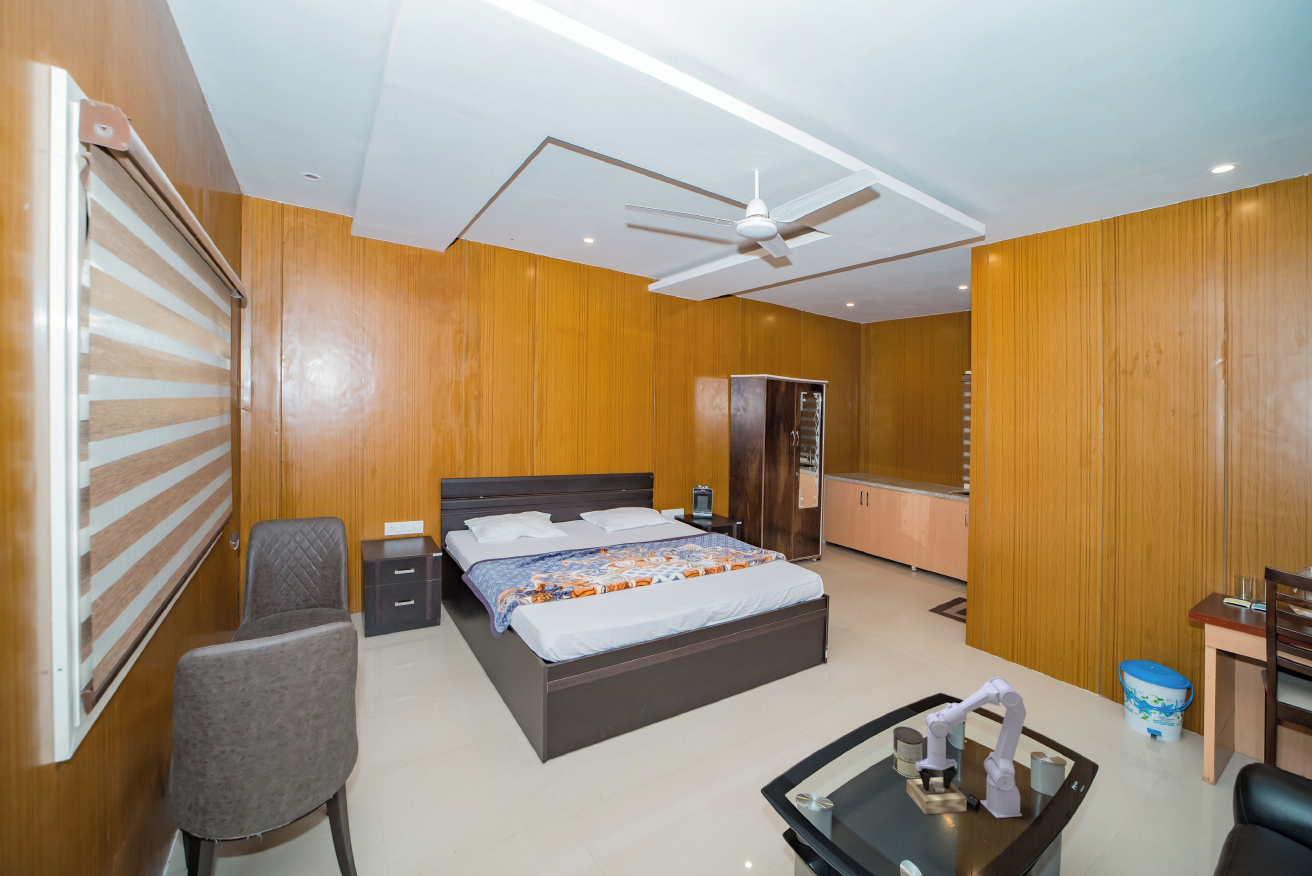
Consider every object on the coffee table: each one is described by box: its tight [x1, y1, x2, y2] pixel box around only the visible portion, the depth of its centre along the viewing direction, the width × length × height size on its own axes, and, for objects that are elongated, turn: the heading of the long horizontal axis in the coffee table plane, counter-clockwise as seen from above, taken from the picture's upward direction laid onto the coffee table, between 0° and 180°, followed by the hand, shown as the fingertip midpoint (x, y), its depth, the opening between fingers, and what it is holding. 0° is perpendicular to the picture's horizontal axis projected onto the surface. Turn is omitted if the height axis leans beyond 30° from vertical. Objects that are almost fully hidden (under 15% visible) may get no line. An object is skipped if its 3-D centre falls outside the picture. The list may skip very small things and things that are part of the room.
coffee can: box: [892, 726, 924, 779], centre depth 202 cm, size 10×10×14 cm
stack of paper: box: [928, 781, 945, 795], centre depth 185 cm, size 3×4×7 cm
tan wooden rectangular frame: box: [906, 776, 968, 815], centre depth 185 cm, size 15×11×4 cm
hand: (936, 788), depth 185 cm, fingers open, 7 cm apart
